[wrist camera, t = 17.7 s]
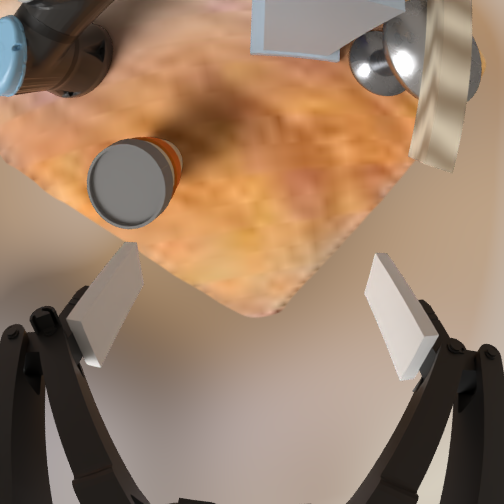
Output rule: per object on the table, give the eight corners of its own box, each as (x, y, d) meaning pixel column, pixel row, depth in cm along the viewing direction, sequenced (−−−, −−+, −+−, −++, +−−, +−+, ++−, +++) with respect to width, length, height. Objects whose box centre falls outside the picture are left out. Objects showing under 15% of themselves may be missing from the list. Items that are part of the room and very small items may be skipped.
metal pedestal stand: (325, 52, 39) (362, 28, 23) (381, 14, 34) (435, -15, 18) (378, 116, 44) (434, 129, 27) (429, 76, 39) (496, 77, 22)
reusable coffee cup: (116, 174, 50) (74, 202, 37) (147, 116, 45) (106, 125, 32) (171, 209, 53) (142, 246, 40) (206, 152, 48) (185, 173, 35)
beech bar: (434, 164, 29) (452, 173, 26) (408, 156, 29) (424, 164, 26) (452, -28, 16) (468, -36, 12) (425, -42, 16) (440, -52, 12)
